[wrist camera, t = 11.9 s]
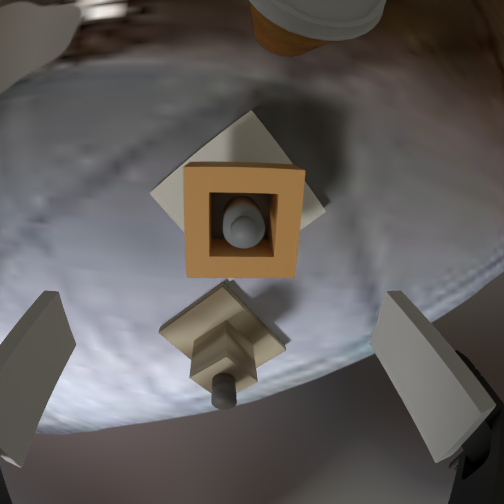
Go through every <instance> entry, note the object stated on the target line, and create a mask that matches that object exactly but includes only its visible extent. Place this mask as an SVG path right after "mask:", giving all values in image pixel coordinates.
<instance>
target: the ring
mask: <svg viewBox="0 0 504 504" xmlns="http://www.w3.org/2000/svg"><path fill="white" fill-rule="evenodd" d="M304 182H305V170H304V169H302V168H300V167H298V166H296V165H294V164H279V163H259V162H216V161H199V162H189V163H188V164H186V165H185V166H184V167H183V196H184V231H185V254H186V271H187V277H191V278H295V270H296V262H297V253H298V244H299V235H300V225H301V215H302V205H303V194H304ZM212 192H228V193H269V194H271V197H270V213H269V229H268V240H266V239H261V240H260V242H259V243H257V244H256V245H255V246H253V247H250V248H237V247H235V246H233V245H231V244H230V243H229V242H228V241H227V240H226V239H212Z"/></svg>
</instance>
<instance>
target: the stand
mask: <svg viewBox="0 0 504 504" xmlns="http://www.w3.org/2000/svg"><path fill="white" fill-rule="evenodd" d="M159 334H161V335H162V336H163V337H164V338H165V339H166V340H168V341H169V342H170V343H171V344H172V345H174V346H175V347H176V348H177V349H179V350H180V351H181V352H182V353H183V354H185V355H186V356H187V357H188V358H190V359H191V369H190V379H192V380H193V381H195V382H196V383H197V384H199V385H200V386H202V387H203V388H205V389H206V390H207V391H209V392H210V393H212V405H213V406H214V407H216V408H218V409H230V408H233V407H234V406H235V405H236V403H237V400H236V393H237V392H239V391H241V390H243V389H245V388H247V387H249V386H251V385H253V384H254V383H256V382H258V380H257V372H256V368H257V367H259V366H260V365H262V364H264V363H265V362H267V361H269V360H271V359H272V358H274V357H276V356H277V355H279V354H281V353H282V352H284V351H286V347H285V345H284V344H283V343H282V342H281V341H280V340H279V339H278V338H277V337H276V336H275V335H274V334H273V333H272V332H271V331H270V330H269V329H268V328H267V327H266V326H265V325H264V324H263V323H262V322H261V321H260V320H259V319H258V318H257V317H256V316H255V315H254V314H253V313H252V312H251V311H250V310H249V309H248V308H247V307H246V306H245V305H244V304H243V303H242V302H241V301H240V300H239V299H238V298H237V296H236V295H235V294H234V293H233V292H232V291H231V290H230V289H229V288H228V287H227V286H226V285H225V284H224V283H223V282H222V283H221V284H220V285H218V286H217V287H215V288H214V289H213V290H211V291H210V292H209V293H207V294H206V295H204V296H203V297H202V298H200V299H199V300H197V301H196V302H195V303H193V304H192V305H191V306H189V307H188V308H186V309H185V310H184V311H182V312H181V313H179V314H178V315H177V316H175V317H174V318H172V319H171V320H170V321H168V322H167V323H166V324H164V325H163V326H161V327H160V329H159Z"/></svg>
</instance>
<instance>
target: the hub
mask: <svg viewBox="0 0 504 504" xmlns="http://www.w3.org/2000/svg"><path fill="white" fill-rule="evenodd" d="M199 161H216V162H259V163H279V164H293V163H292V162H291V161H290V159H289V158H288V157H287V155H286V154H285V153H284V151H283V150H282V149H281V147H280V146H279V145H278V143H277V142H276V141H275V139H274V138H273V137H272V135H271V134H270V133H269V132H268V130H267V129H266V128H265V126H264V125H263V124H262V123H261V121H260V120H259V119H258V118H257V116H256V115H255V114H254V113H253V111H252V110H251V111H250V112H248V113H247V114H245V115H244V116H243V117H241V118H240V119H239V120H237V121H236V122H235V123H233V124H232V125H231V126H229V127H228V128H227V129H225V130H224V131H223V132H221V133H220V134H219V135H218V136H216V137H215V138H214V139H212V140H211V141H210V142H209V143H207V144H206V145H205V146H204V147H202V148H201V149H200V150H199V151H198V152H196V153H195V154H194V155H193V156H192V157H190V158H189V159H188V160H187V161H186V162H184V163H183V164H182V165H181V166H180V167H179V168H177V169H176V170H175V171H174V172H173V173H172V174H171V175H169V176H168V177H167V178H166V179H165V180H164V181H163V182H162V183H161V184H159V185H158V186H157V187H156V188H155V189H154V190H153V191H152V192H151V193H150V194H151V195H152V197H153V198H154V199H155V200H156V201H157V202H158V203H159V205H160V206H161V207H162V208H163V209H164V210H165V211H166V212H167V214H168V215H169V216H170V217H171V218H172V219H173V220H174V221H175V222H176V224H177V225H178V226H179V227H180V228H181V229H182V230H183V231H184V196H183V167H184V166H185V165H186V164H188V163H189V162H199ZM270 197H271V194H269V193H228V192H212V239H226V240H227V241H228V242H229V243H230V244H231V245H233V246H235V247H237V248H250V247H253V246H255V245H256V244H257V243H259V242H260V240H261V239H266V240H268V229H269V213H270ZM325 212H326V211H325V209H324V208H323V206H322V205H321V203H320V202H319V200H318V199H317V197H316V196H315V194H314V193H313V192H312V190H311V189H310V187H309V186H308V184H307V183H306V182H304V194H303V205H302V215H301V225H300V230H302V229H303V228H304V227H306V226H307V225H308V224H310V223H311V222H313V221H314V220H315V219H317V218H318V217H319V216H321V215H322V214H323V213H325ZM184 232H185V231H184ZM227 279H228V280H229V281H232V280H233V279H234V278H227Z"/></svg>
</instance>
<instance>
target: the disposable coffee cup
mask: <svg viewBox="0 0 504 504" xmlns="http://www.w3.org/2000/svg"><path fill="white" fill-rule="evenodd" d="M385 3H386V0H249V5H250V11H251V19H252V26H253V33H254V36H255V38H256V40H257V41H258V42H259V43H260V45H262V46H263V47H264V48H265V49H267V50H268V51H270V52H272V53H275V54H277V55H281V56H297V55H301V54H303V53H305V52H307V51H310V50H312V49H314V48H317V47H319V46H321V45H324V44H326V43H329V42H331V41H341V40H347V39H353V38H356V37H358V36H361V35H363V34H365V33H367V32H369V31H370V30H371V29H373V28H374V27H375V26H376V24H377V23H378V22H379V21H380V18H381V16H382V14H383V10H384V5H385Z"/></svg>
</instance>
